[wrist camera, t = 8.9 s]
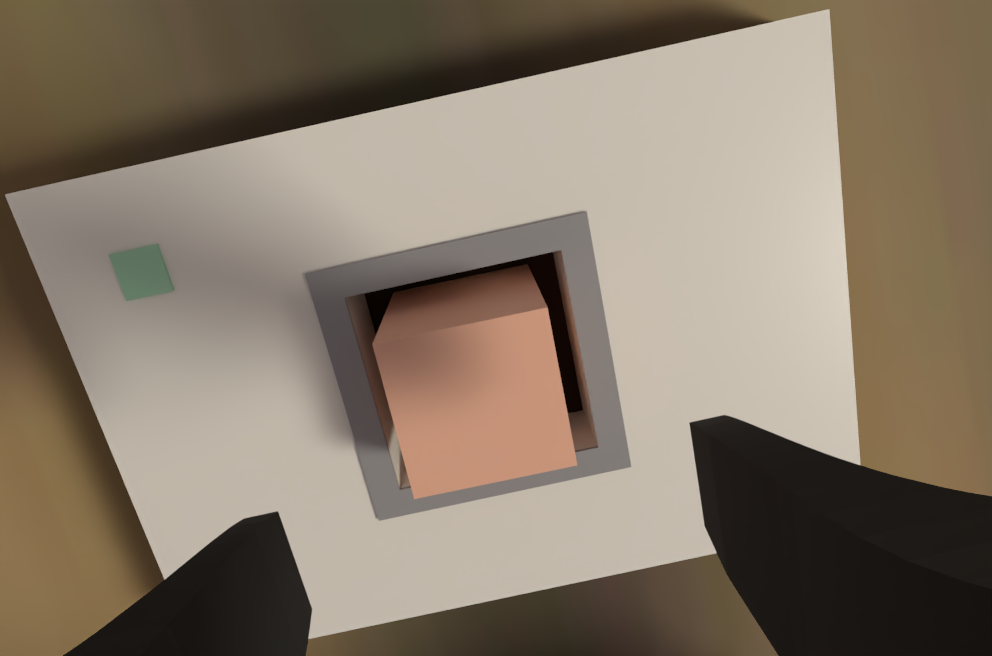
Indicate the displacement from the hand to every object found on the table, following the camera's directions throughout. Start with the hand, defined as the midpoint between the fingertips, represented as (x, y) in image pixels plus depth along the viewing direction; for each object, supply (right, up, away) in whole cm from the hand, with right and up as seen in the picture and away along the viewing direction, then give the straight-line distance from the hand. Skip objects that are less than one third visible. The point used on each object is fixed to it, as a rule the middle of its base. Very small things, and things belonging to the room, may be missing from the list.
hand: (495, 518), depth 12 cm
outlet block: (-1, +3, +9) cm, 9 cm away
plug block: (-1, +3, +9) cm, 10 cm away
